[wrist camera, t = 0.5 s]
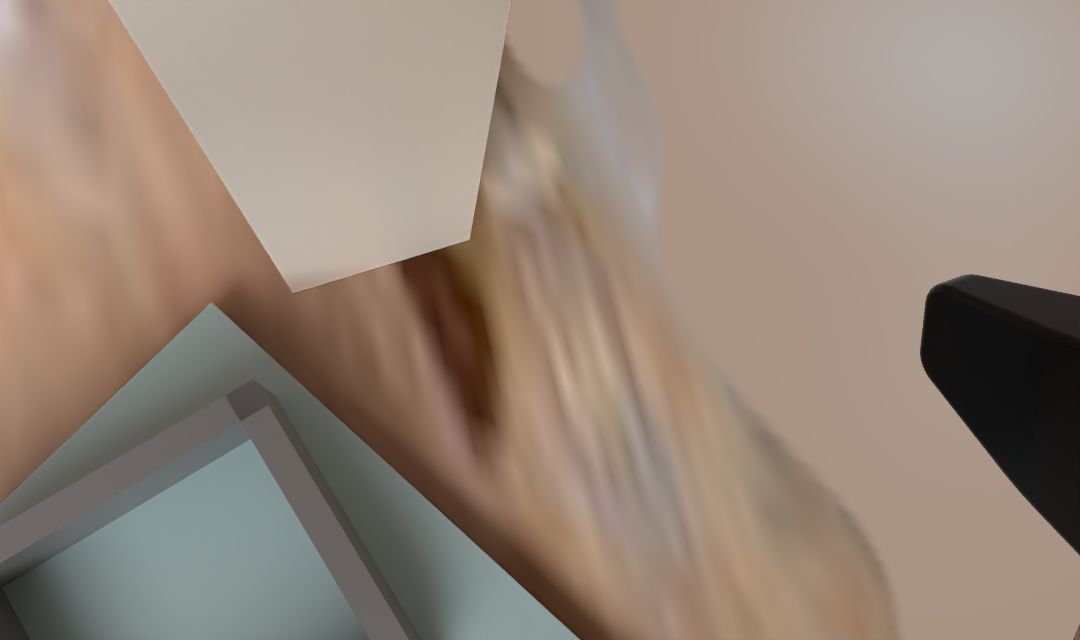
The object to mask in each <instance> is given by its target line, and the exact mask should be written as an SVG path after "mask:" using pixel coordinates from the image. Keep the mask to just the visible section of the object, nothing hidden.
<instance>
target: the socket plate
mask: <svg viewBox="0 0 1080 640" xmlns="http://www.w3.org/2000/svg"><path fill="white" fill-rule="evenodd" d="M0 640H580V639H579V638H578V637H576V636H575V635H574V634H573V633H572V632H571V631H570V630H569V629H568V628H567V627H566V626H564V625H563V624H562V623H561V622H560V621H559V620H558V619H557V618H556V617H555V616H554V615H552V614H551V613H550V612H549V611H548V610H547V609H546V608H545V607H544V606H543V605H542V604H540V603H539V602H538V601H537V600H536V599H535V598H534V597H533V596H532V595H531V594H530V593H528V592H527V591H526V590H525V589H524V588H523V587H522V586H521V585H520V584H519V583H517V582H516V581H515V580H514V579H513V578H512V577H511V576H510V575H509V574H508V573H507V572H505V571H504V570H503V569H502V568H501V567H500V566H499V565H498V564H497V563H496V562H495V561H493V560H492V559H491V558H490V557H489V556H488V555H487V554H486V553H485V552H484V551H483V550H481V549H480V548H479V547H478V546H477V545H476V544H475V543H474V542H473V541H472V540H471V539H469V538H468V537H467V536H466V535H465V534H464V533H463V532H462V531H461V530H460V529H459V528H457V527H456V526H455V525H454V524H453V523H452V522H451V521H450V520H449V519H448V518H447V517H445V516H444V515H443V514H442V513H441V512H440V511H439V510H438V509H437V508H436V507H435V506H433V505H432V504H431V503H430V502H429V501H428V500H427V499H426V498H425V497H424V496H423V495H421V494H420V493H419V492H418V491H417V490H416V489H415V488H414V487H413V486H412V485H411V484H409V483H408V482H407V481H406V480H405V479H404V478H403V477H402V476H401V475H400V474H399V473H397V472H396V471H395V470H394V469H393V468H392V467H391V466H390V465H389V464H388V463H387V462H385V461H384V460H383V459H382V458H381V457H380V456H379V455H378V454H377V453H376V452H375V451H373V450H372V449H371V448H370V447H369V446H368V445H367V444H366V443H365V442H364V441H363V440H361V439H360V438H359V437H358V436H357V435H356V434H355V433H354V432H353V431H352V430H351V429H349V428H348V427H347V426H346V425H345V424H344V423H343V422H342V421H341V420H340V419H339V418H337V417H336V416H335V415H334V414H333V413H332V412H331V411H330V410H329V409H328V408H327V407H325V406H324V405H323V404H322V403H321V402H320V401H319V400H318V399H317V398H316V397H315V396H313V395H312V394H311V393H310V392H309V391H308V390H307V389H306V388H305V387H304V386H303V385H301V384H300V383H299V382H298V381H297V380H296V379H295V378H294V377H293V376H292V375H291V374H289V373H288V372H287V371H286V370H285V369H284V368H283V367H282V366H281V365H280V364H279V363H277V362H276V361H275V360H274V359H273V358H272V357H271V356H270V355H269V354H268V353H267V352H265V351H264V350H263V349H262V348H261V347H260V346H259V345H258V344H257V343H256V342H255V341H253V340H252V339H251V338H250V337H249V336H248V335H247V334H246V333H245V332H244V331H243V330H241V329H240V328H239V327H238V326H237V325H236V324H235V323H234V322H233V321H232V320H231V319H229V318H228V317H227V316H226V315H225V314H224V313H223V312H222V311H221V310H220V309H219V308H217V307H216V306H215V305H214V304H213V303H212V302H211V303H210V304H209V305H208V306H207V307H206V308H205V309H204V310H203V311H202V312H201V313H199V314H198V315H197V316H196V317H195V318H194V319H193V320H192V321H191V322H190V323H189V324H188V325H187V326H186V327H185V328H184V329H183V330H182V331H181V332H180V333H179V334H177V335H176V336H175V337H174V338H173V339H172V340H171V341H170V342H169V343H168V344H167V345H166V346H165V347H164V348H163V349H162V350H161V351H160V352H159V353H158V354H156V355H155V356H154V357H153V358H152V359H151V360H150V361H149V362H148V363H147V364H146V365H145V366H144V367H143V368H142V369H141V370H140V371H139V372H138V373H137V374H136V375H134V376H133V377H132V378H131V379H130V380H129V381H128V382H127V383H126V384H125V385H124V386H123V387H122V388H121V389H120V390H119V391H118V392H117V393H116V394H115V395H114V396H112V397H111V398H110V399H109V400H108V401H107V402H106V403H105V404H104V405H103V406H102V407H101V408H100V409H99V410H98V411H97V412H96V413H95V414H94V415H93V416H91V417H90V418H89V419H88V420H87V421H86V422H85V423H84V424H83V425H82V426H81V427H80V428H79V429H78V430H77V431H76V432H75V433H74V434H73V435H72V436H71V437H69V438H68V439H67V440H66V441H65V442H64V443H63V444H62V445H61V446H60V447H59V448H58V449H57V450H56V451H55V452H54V453H53V454H52V455H51V456H50V457H48V458H47V459H46V460H45V461H44V462H43V463H42V464H41V465H40V466H39V467H38V468H37V469H36V470H35V471H34V472H33V473H32V474H31V475H30V476H29V477H28V478H26V479H25V480H24V481H23V482H22V483H21V484H20V485H19V486H18V487H17V488H16V489H15V490H14V491H13V492H12V493H11V494H10V495H9V496H8V497H7V498H6V499H4V500H3V501H2V502H1V503H0Z"/></svg>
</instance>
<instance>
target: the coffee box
mask: <svg viewBox="0 0 1080 640" xmlns="http://www.w3.org/2000/svg"><path fill="white" fill-rule="evenodd" d="M1073 640H1080V625H1079V627H1078V630H1077V632H1076V634H1075V637H1074V639H1073Z"/></svg>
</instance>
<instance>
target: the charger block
mask: <svg viewBox="0 0 1080 640" xmlns="http://www.w3.org/2000/svg"><path fill="white" fill-rule="evenodd" d="M108 1H109V3H110V4H111V6H112V7H113V9H114V11H115V12H116V14H117V15H118V17H119V19H120V20H121V22H122V23H123V25H124V26H125V28H126V30H127V31H128V33H129V34H130V36H131V38H132V39H133V41H134V42H135V44H136V45H137V47H138V49H139V50H140V52H141V53H142V55H143V57H144V58H145V60H146V61H147V63H148V65H149V66H150V68H151V69H152V71H153V72H154V74H155V76H156V77H157V79H158V80H159V82H160V84H161V85H162V87H163V88H164V90H165V91H166V93H167V95H168V96H169V98H170V99H171V101H172V103H173V104H174V106H175V107H176V109H177V110H178V112H179V114H180V115H181V117H182V118H183V120H184V122H185V123H186V125H187V126H188V128H189V130H190V131H191V133H192V134H193V136H194V137H195V139H196V141H197V142H198V144H199V145H200V147H201V149H202V150H203V152H204V153H205V155H206V156H207V158H208V160H209V161H210V163H211V164H212V166H213V168H214V169H215V171H216V172H217V174H218V175H219V177H220V179H221V180H222V182H223V183H224V185H225V187H226V188H227V190H228V191H229V193H230V195H231V196H232V198H233V199H234V201H235V202H236V204H237V206H238V207H239V209H240V210H241V212H242V214H243V215H244V217H245V218H246V220H247V221H248V223H249V225H250V226H251V228H252V229H253V231H254V233H255V234H256V236H257V237H258V239H259V240H260V242H261V244H262V245H263V247H264V248H265V250H266V252H267V253H268V255H269V256H270V258H271V260H272V261H273V263H274V264H275V266H276V267H277V269H278V271H279V272H280V274H281V275H282V277H283V279H284V280H285V282H286V283H287V285H288V286H289V288H290V290H291V291H292V293H296V292H299V291H303V290H306V289H309V288H313V287H316V286H319V285H322V284H326V283H329V282H332V281H336V280H339V279H342V278H345V277H349V276H352V275H355V274H359V273H362V272H365V271H368V270H372V269H375V268H378V267H382V266H385V265H388V264H392V263H395V262H398V261H401V260H405V259H408V258H411V257H415V256H418V255H421V254H424V253H428V252H431V251H434V250H438V249H441V248H444V247H447V246H451V245H454V244H457V243H461V242H464V241H467V240H470V235H471V229H472V223H473V218H474V212H475V206H476V201H477V195H478V189H479V183H480V178H481V172H482V166H483V161H484V155H485V149H486V144H487V138H488V132H489V127H490V121H491V115H492V110H493V104H494V98H495V93H496V87H497V81H498V76H499V70H500V64H501V58H502V53H503V47H504V41H505V36H506V30H507V24H508V18H509V13H510V7H511V2H512V0H108Z"/></svg>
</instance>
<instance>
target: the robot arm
mask: <svg viewBox="0 0 1080 640" xmlns="http://www.w3.org/2000/svg"><path fill="white" fill-rule="evenodd" d="M920 356H921V361H922V364H923V367H924V370H925V371H926V374H927V375H928V377H929V378H930V379H931V381H932V382H933V383H934V385H935V386H936V387H937V388H938V390H939V391H940V392H941V394H942V395H943V396H944V397H945V399H946V400H947V401H948V402H949V404H950V405H951V406H952V408H953V409H954V410H955V411H956V413H957V414H958V415H959V416H960V418H961V419H962V420H963V422H964V423H965V424H966V425H967V427H968V428H969V429H970V430H971V432H972V433H973V434H974V436H975V437H976V438H977V439H978V441H979V442H980V443H981V444H982V446H983V447H984V448H985V449H986V451H987V452H988V453H989V455H990V456H991V457H992V458H993V460H994V461H995V462H996V463H997V465H998V466H999V467H1000V469H1001V470H1002V471H1003V472H1004V474H1005V475H1006V476H1007V477H1008V478H1009V480H1010V481H1011V482H1012V483H1013V484H1014V485H1015V487H1016V488H1017V489H1018V490H1019V492H1020V493H1021V494H1022V495H1023V496H1024V497H1025V498H1026V499H1027V500H1028V501H1029V503H1031V505H1032V506H1033V507H1034V508H1035V509H1036V510H1037V511H1038V512H1039V513H1040V514H1041V515H1042V516H1043V517H1044V519H1045V520H1046V521H1047V522H1048V523H1049V524H1050V525H1051V526H1052V527H1053V528H1054V529H1055V530H1056V531H1057V532H1058V533H1059V534H1060V535H1061V536H1062V537H1063V538H1064V539H1065V540H1066V541H1067V542H1068V543H1069V545H1070V546H1072V548H1073V549H1074V550H1075V551H1076V552H1077V553H1078V554H1079V555H1080V296H1076V295H1072V294H1067V293H1062V292H1057V291H1052V290H1047V289H1043V288H1037V287H1033V286H1028V285H1023V284H1018V283H1013V282H1009V281H1003V280H999V279H994V278H989V277H984V276H979V275H964V276H960V277H957V278H955V279H952V280H949V281H946V282H943V283H941V284H938V285H936V286H934V287H933V288H932V289H931V290H930V292H929V293H928V295H927V298H926V302H925V312H924V320H923V329H922V338H921V347H920Z"/></svg>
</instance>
